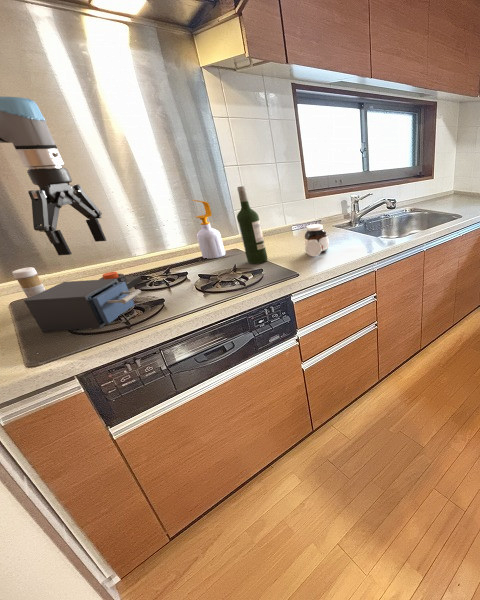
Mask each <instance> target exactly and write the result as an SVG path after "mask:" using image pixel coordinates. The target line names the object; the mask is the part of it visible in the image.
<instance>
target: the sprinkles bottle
mask: <svg viewBox="0 0 480 600" xmlns="http://www.w3.org/2000/svg"><path fill="white" fill-rule="evenodd" d="M11 275H12V276H13V277H14V278H15V280H17V282H18V284H19V285H20V288H21V289H22V291H23V293H24V294H25V296H26V299H28V298H30V297H32V296H34V295H37V294H39V293H41V292H43V291H45V290H47V289H46V287H45V286H44V284H43V282H42V280H41V279H40V277H39V274H38V271H37V270H36V268H35V267H30V266H29V267H23V268H19V269H15V270H12V274H11Z"/></svg>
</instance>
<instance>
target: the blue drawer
mask: <svg viewBox="0 0 480 600" xmlns="http://www.w3.org/2000/svg"><path fill="white" fill-rule="evenodd" d="M140 294H142V290H141V289H139V288H138V289H137V288H136V289H134V290H130V289H129V290H128V288H127V286H126V283H125V282H120V283H118V284H116V285H115V284H112V285H110V286H108V287H106V288H105V289H103V290H101V291H99V292H98V293H96V294H94V295H92V296H90V297H89V298H88V299H89V301H90V303H91V305H92V307H93V309H94V311H95V313H96V315H97V317H98V319H99V321H100V322H101V321H103V322H104V324H105V325H107V324H111V323H113V321H115V320H116V319H118V318H119V317H120V316H121V315H120V314H122V313H123V312H124V313H126V312H127V311H129V310H130V309H132V308H133V307H135V306H136V303H135V302H134V298H135V297H137V296H138V295H140ZM131 307H132V308H131ZM129 308H130V309H129ZM128 309H129V310H128ZM126 310H127V311H126ZM125 311H126V312H125ZM124 313H123V314H124ZM123 314H122V315H123ZM119 315H120V316H119ZM118 316H119V317H118Z"/></svg>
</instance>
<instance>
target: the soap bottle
mask: <svg viewBox="0 0 480 600" xmlns="http://www.w3.org/2000/svg"><path fill="white" fill-rule="evenodd" d="M192 202H198V203H202V205H203V208H204V211H205V214H202V215H196V216H195V218H196V219H199V220H201V221H202V222H200V227H201V229H200V230H198V232H197V233H196V240H197V243H198V246H199V249H200V250H199V251H200V252H201V256H202V258H203V259H205V258H207V259H206V260H214V259H219V258H222V257H224V256H226V250H225V247H224V243H223V239H222V235H221V232H220V231H219V230H217V229H215V228H213V227H211V223H210V221H208V218H210V217H212V215H213V214H212V210H211V206H210V204H209V202H208V201H204V200H196V199H192Z"/></svg>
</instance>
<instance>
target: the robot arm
mask: <svg viewBox="0 0 480 600" xmlns="http://www.w3.org/2000/svg"><path fill="white" fill-rule="evenodd" d="M5 143H6V144H12V145H13V147H14V149H15V151H16V153H17V155H18V157H19V159H20V161H21V164H22V166H23V167H24V168H28V169H26V173H27V175H28V178H29V179H30V181H31V183H32V184H33V185H34V186H38V189H34V190H33V189H32V190H28V191H27V193H28V196H29V198H30V201H31V214H32V225H33V230H34V231H36V232H40V233H41V232H43V233H45V235H46V237H47V238H48V240H49V243H50V244H51V245H53V247H54V249H55V252H56V253H57V255H58V256H70V255H72V250H71V249H70V248H69V245H68V243H67V241H66V239H65V237H64V235H63V234H62V231H61V229H57V227H58V220H59V216H60V209H61V208H62V207H63V206H66V205H69V206H70V207H72V208H73V209H74V210H76V211H77V212H78V213H79V214H81V215H82V216H83V217H84V218H86V219H85V223H86V225H87V227H88V229H89V231H90V234H91V235H92V237H93V241H94V242H96V243H97V242H106V241H107V238H106V236H105V233H104V231H103V229H102V225H101V223H100V221H99V219H102V214H103V213H102V211H101V210H100V209H99V207H98V206H97V205H96V204H95V203H94V202H93V200H92V199H91V198H90V197H89V196H88V194H86V192H85V191H84V189H83V187H82V186H81V184H79V183H78V184H70V183H72V182H73V179H72V176H71V175H70V172H69V170H68V168H66V167H63V166H65V162H64V160H63V158H62V155H61V153H60V151H59V149H58V147H57V144H56V143H55V140H54V138H53V136H52V133H51V131H50V128H49V126H48V124H47V122H46V118H45V117H44V115H43V113H42V112H41V110H40V108H39V105H38V104H37V102H35V101H34V100H33V99H30V98H27V97H22V96H21V97H20V96H0V144H5Z"/></svg>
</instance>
